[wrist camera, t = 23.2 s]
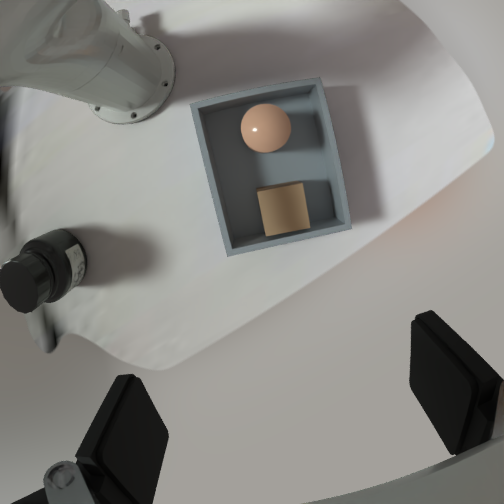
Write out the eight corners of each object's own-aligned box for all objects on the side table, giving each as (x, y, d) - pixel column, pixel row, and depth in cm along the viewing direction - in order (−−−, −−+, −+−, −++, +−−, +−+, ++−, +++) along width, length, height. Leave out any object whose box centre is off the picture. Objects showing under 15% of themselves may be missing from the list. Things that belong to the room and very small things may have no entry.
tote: (197, 111, 37) (189, 104, 32) (310, 87, 37) (320, 77, 31) (230, 244, 42) (227, 256, 37) (339, 219, 41) (352, 228, 36)
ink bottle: (74, 299, 44) (34, 336, 33) (34, 266, 43) (-12, 294, 31) (98, 248, 42) (55, 278, 30) (54, 214, 41) (3, 233, 29)
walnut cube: (263, 227, 41) (265, 236, 36) (256, 188, 39) (257, 191, 35) (303, 219, 41) (310, 227, 36) (296, 180, 39) (302, 183, 34)
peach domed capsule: (238, 118, 37) (235, 109, 30) (278, 109, 37) (284, 99, 30) (247, 157, 38) (247, 156, 32) (287, 148, 38) (295, 146, 31)
